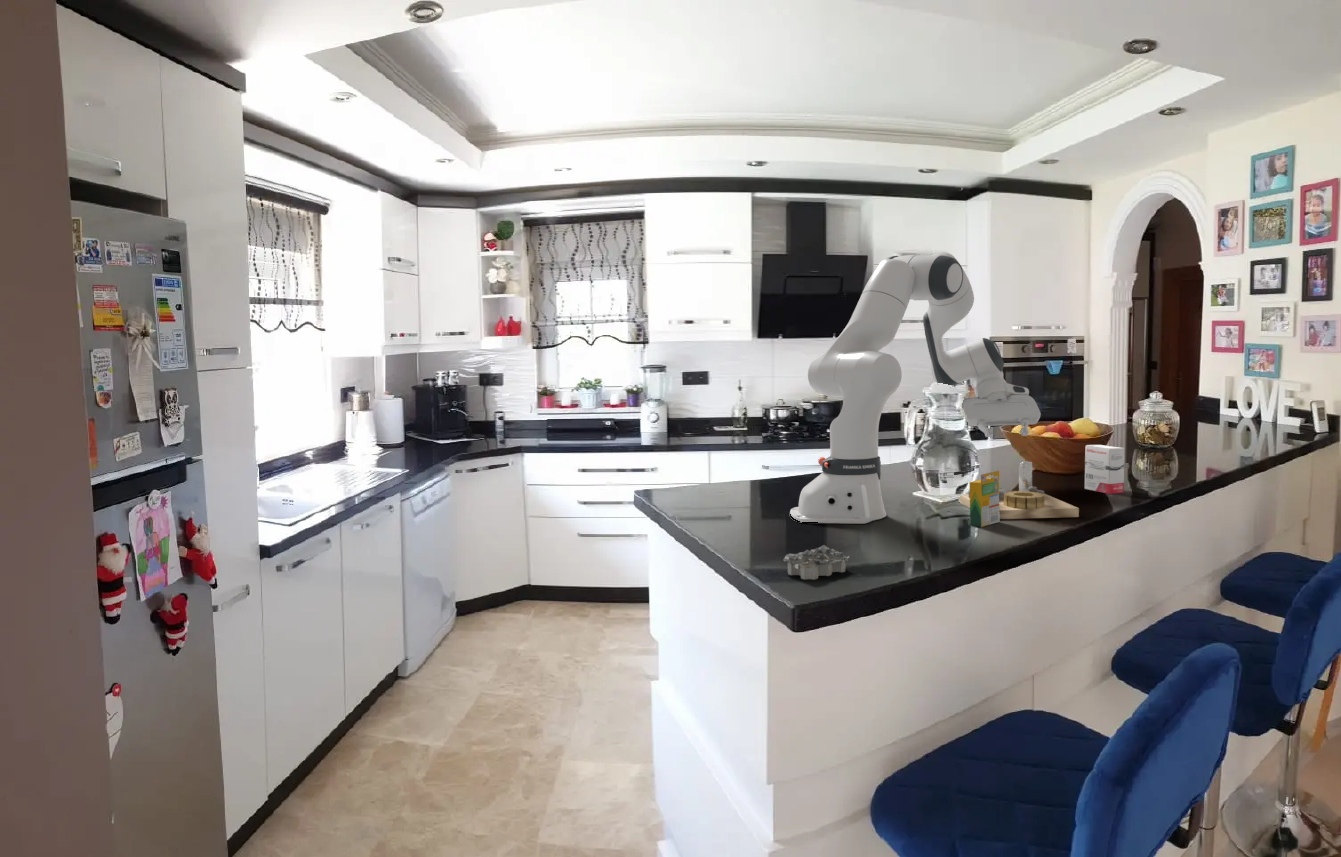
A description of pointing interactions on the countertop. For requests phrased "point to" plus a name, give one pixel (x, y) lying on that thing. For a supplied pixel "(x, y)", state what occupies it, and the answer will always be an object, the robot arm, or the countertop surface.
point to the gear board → (1033, 513)
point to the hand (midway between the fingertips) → (1007, 435)
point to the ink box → (1104, 469)
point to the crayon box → (984, 500)
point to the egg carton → (816, 563)
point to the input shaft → (1025, 475)
